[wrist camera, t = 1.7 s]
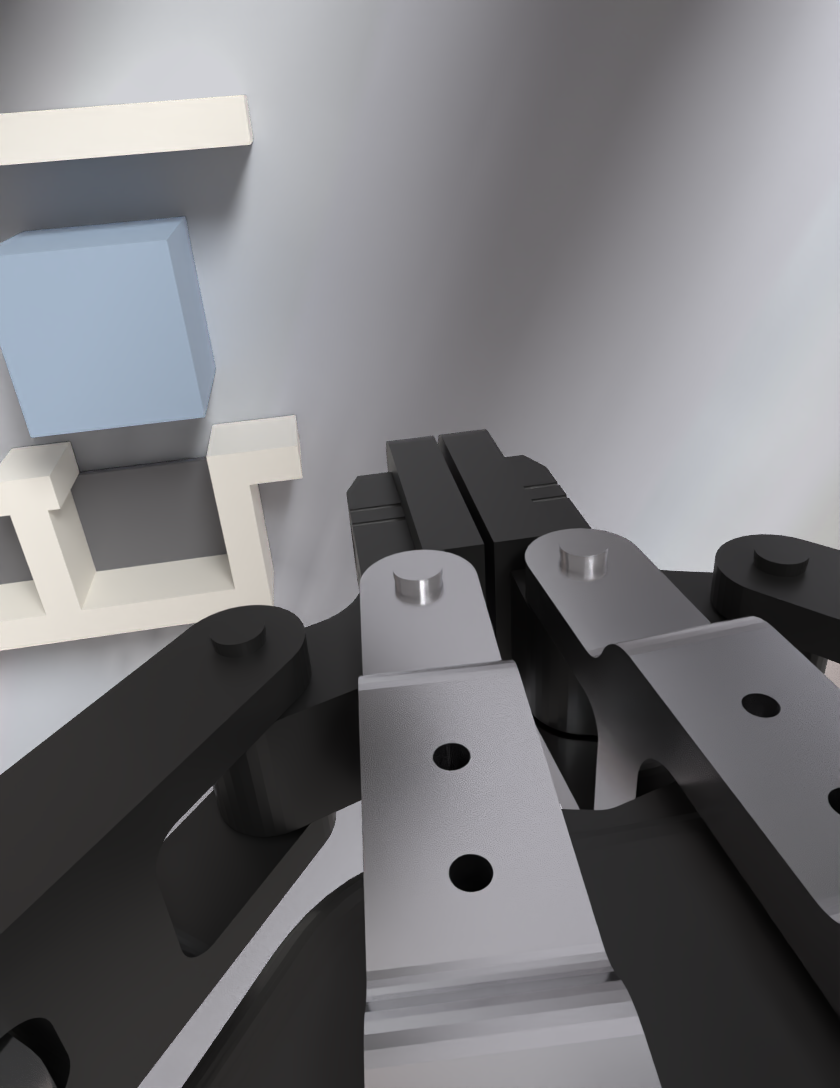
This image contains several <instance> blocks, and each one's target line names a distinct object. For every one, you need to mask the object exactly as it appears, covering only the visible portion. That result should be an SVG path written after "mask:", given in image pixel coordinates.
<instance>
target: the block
mask: <svg viewBox="0 0 840 1088" xmlns="http://www.w3.org/2000/svg"><path fill="white" fill-rule="evenodd" d="M0 347H1V350H2V353H3V356H4V359H5V362H6V365H7V368H8V371H9V374H10V377H11V380H12V383H13V385H14V388H15V391H16V394H17V397H18V400H19V403H20V406H21V409H22V412H23V415H24V418H25V421H26V424H27V427H28V430H29V433H30V436H31V438H34V437H42V436H51V435H59V434H67V433H76V432H84V431H93V430H101V429H110V428H118V427H127V426H135V425H144V424H152V423H160V422H169V421H177V420H186V419H194V418H203V417H205V415H206V410H207V406H208V402H209V397H210V393H211V388H212V384H213V380H214V375H215V371H216V366H215V361H214V356H213V351H212V346H211V341H210V337H209V332H208V327H207V322H206V317H205V312H204V307H203V302H202V297H201V292H200V287H199V282H198V277H197V272H196V267H195V262H194V257H193V252H192V247H191V242H190V237H189V232H188V227H187V222H186V217H185V216H182V217H171V218H161V219H150V220H139V221H128V222H118V223H107V224H96V225H85V226H75V227H64V228H53V229H43V230H32V231H23V232H21V233H19V234H17V235H15V236H13V237H11V238H9V239H8V240H6V241H4V242H2V243H0Z"/></svg>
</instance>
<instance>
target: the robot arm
mask: <svg viewBox="0 0 840 1088" xmlns="http://www.w3.org/2000/svg"><path fill="white" fill-rule="evenodd" d="M386 452H387V465H388V472H387V473H379V474H372V475H364V476H357V478H356V479H355V481H354V482H353V484H352V485H351V487H350V488H349V490H348V491H347V501H348V509H349V517H350V525H351V533H352V541H353V548H354V556H355V564H356V572H357V580H358V585H359V591H360V592H359V594H358V596H357V598H356V599H355V600H354V601H353V602H352V603H351V604H350V605H349V606H348V607H347V608H346V609H344V610H343V611H341V612H340V613H338V614H337V615H335V616H333V617H331V618H329V619H327V620H324V621H322V622H319V623H317V624H314V625H311V626H308V627H305V628H304V625H303V623H302V622H301V620H300V619H299V618H298V617H297V616H296V615H295V614H293V613H291V612H290V611H288V610H285V609H282V608H280V607H275V606H269V605H247V606H239V607H234V608H230V609H226V610H223V611H220V612H217V613H215V614H212V615H210V616H208V617H206V618H204V619H202V620H200V621H199V622H197V623H196V624H194V625H193V626H192V627H190V628H189V629H188V630H186V631H185V632H184V633H183V634H181V635H180V636H179V637H177V638H176V639H175V640H174V641H172V642H171V643H170V644H168V645H167V646H166V647H165V648H163V649H162V650H161V651H159V652H158V653H157V654H155V655H154V656H153V657H152V658H150V659H149V660H148V661H146V662H145V663H144V664H143V665H141V666H140V667H139V668H137V669H136V670H135V671H134V672H132V673H131V674H130V675H128V676H127V677H126V678H125V679H123V680H122V681H121V682H119V683H118V684H117V685H116V686H114V687H113V688H112V689H110V690H109V691H108V692H107V693H105V694H104V695H103V696H101V697H100V698H99V699H98V700H96V701H95V702H94V703H92V704H91V705H90V706H89V707H87V708H86V709H85V710H83V711H82V712H81V713H80V714H78V715H77V716H76V717H74V718H73V719H72V720H71V721H69V722H68V723H67V724H65V725H64V726H63V727H62V728H60V729H59V730H58V731H56V732H55V733H54V734H53V735H51V736H50V737H49V738H47V739H46V740H45V741H44V742H42V743H41V744H40V745H38V746H37V747H36V748H35V749H33V750H32V751H31V752H29V753H28V754H27V755H26V756H24V757H23V758H22V759H20V760H19V761H18V762H17V763H15V764H14V765H13V766H11V767H10V768H9V769H8V770H6V771H5V772H4V773H2V774H1V775H0V1088H137V1087H138V1086H139V1085H140V1083H141V1082H142V1081H143V1079H144V1078H145V1077H146V1076H147V1074H148V1073H149V1072H150V1070H151V1069H152V1068H153V1066H154V1065H155V1064H156V1062H157V1061H158V1060H159V1059H160V1057H161V1056H162V1055H163V1053H164V1052H165V1051H166V1049H167V1048H168V1047H169V1046H170V1044H171V1043H172V1042H173V1040H174V1039H175V1038H176V1036H177V1035H178V1034H179V1033H180V1031H181V1030H182V1029H183V1027H184V1026H185V1025H186V1023H187V1022H188V1021H189V1019H190V1018H191V1017H192V1016H193V1014H194V1013H195V1012H196V1010H197V1009H198V1008H199V1006H200V1005H201V1004H202V1003H203V1001H204V1000H205V999H206V997H207V996H208V995H209V993H210V992H211V991H212V990H213V988H214V987H215V986H216V984H217V983H218V982H219V980H220V979H221V978H222V976H223V975H224V974H225V973H226V971H227V970H228V969H229V967H230V966H231V965H232V963H233V962H234V961H235V960H236V958H237V957H238V956H239V954H240V953H241V952H242V950H243V949H244V948H245V947H246V945H247V944H248V943H249V941H250V940H251V939H252V937H253V936H254V935H255V934H256V932H257V931H258V930H259V928H260V927H261V926H262V924H263V923H264V922H265V920H266V919H267V918H268V917H269V915H270V914H271V913H272V911H273V910H274V909H275V907H276V906H277V905H278V904H279V902H280V901H281V900H282V898H283V897H284V896H285V894H286V893H287V892H288V891H289V889H290V888H291V887H292V885H293V884H294V883H295V881H296V880H297V879H298V877H299V876H300V875H301V874H302V872H303V871H304V870H305V868H306V867H307V866H308V864H309V863H310V862H311V861H312V859H313V858H314V857H315V855H316V854H317V853H318V851H319V850H320V849H321V848H322V846H323V845H324V844H325V842H326V841H327V839H328V838H329V836H330V835H331V833H332V830H333V828H334V825H335V820H336V811H338V810H341V809H343V808H345V807H347V806H349V805H351V804H354V803H356V802H358V801H360V800H362V835H363V870H364V872H362V873H360V874H359V875H357V876H355V877H353V878H351V879H350V880H348V881H347V882H345V883H344V884H343V885H341V886H340V887H338V888H337V889H336V890H334V891H333V892H331V893H330V894H329V895H327V896H326V897H325V898H324V899H323V900H322V901H321V902H319V903H318V904H317V905H316V906H315V907H314V908H313V909H312V910H311V911H309V912H308V913H307V914H306V915H305V917H304V918H303V919H302V920H301V921H300V922H299V923H298V924H297V925H296V927H295V928H294V929H293V930H292V931H291V932H290V933H289V934H288V936H287V937H286V938H285V939H284V941H283V942H282V943H281V945H280V946H279V947H278V949H277V950H276V951H275V953H274V954H273V955H272V957H271V958H270V960H269V961H268V963H267V964H266V966H265V967H264V969H263V970H262V971H261V973H260V974H259V976H258V977H257V979H256V980H255V982H254V983H253V985H252V986H251V987H250V989H249V990H248V992H247V993H246V995H245V996H244V998H243V999H242V1001H241V1002H240V1004H239V1005H238V1006H237V1008H236V1009H235V1011H234V1012H233V1014H232V1015H231V1017H230V1018H229V1020H228V1021H227V1022H226V1024H225V1025H224V1027H223V1028H222V1030H221V1031H220V1033H219V1034H218V1036H217V1037H216V1039H215V1040H214V1041H213V1043H212V1044H211V1046H210V1047H209V1049H208V1050H207V1052H206V1053H205V1055H204V1056H203V1057H202V1059H201V1060H200V1062H199V1063H198V1065H197V1066H196V1068H195V1069H194V1071H193V1072H192V1073H191V1075H190V1076H189V1078H188V1079H187V1081H186V1082H185V1084H184V1085H183V1086H182V1088H840V689H839V688H838V687H837V686H836V685H835V684H834V683H833V682H832V681H831V680H830V679H828V678H827V677H826V676H825V675H824V673H825V669H826V665H827V661H828V659H829V660H831V661H834V662H837V663H839V664H840V550H837V549H833V548H830V547H826V546H823V545H819V544H816V543H812V542H809V541H805V540H802V539H798V538H793V537H788V536H782V535H766V534H760V535H749V536H743V537H739V538H735V539H733V540H730V541H728V542H726V543H725V544H723V545H722V546H721V547H720V548H719V549H718V550H717V553H716V556H715V563H714V571H713V573H710V572H687V571H668V570H659V569H658V568H657V567H656V566H655V565H654V564H653V563H652V562H651V561H650V559H649V558H648V557H647V556H646V555H645V554H644V553H643V552H642V551H641V550H640V549H639V548H638V547H637V546H636V545H635V544H633V543H632V542H631V541H629V540H628V539H626V538H624V537H622V536H619V535H617V534H614V533H611V532H607V531H602V530H596V529H591V527H590V526H589V525H588V523H587V522H586V521H585V519H584V518H583V517H582V515H581V514H580V512H579V511H578V510H577V508H576V507H575V506H574V504H573V503H572V502H571V500H570V499H569V498H567V496H566V493H565V492H564V491H563V489H562V488H561V487H560V485H557V481H556V480H555V478H554V477H553V476H552V474H551V473H550V472H549V470H548V469H547V468H546V467H545V466H543V465H541V464H539V463H538V462H536V461H534V460H532V459H530V458H528V457H526V456H524V455H520V456H512V457H504V456H503V454H502V453H501V451H500V450H499V448H498V447H497V445H496V443H495V442H494V440H493V439H492V437H491V436H490V434H489V432H488V431H487V430H486V429H484V430H476V431H467V432H459V433H451V434H443V435H439V438H438V444H437V442H436V440H435V438H434V436H428V437H420V438H412V439H404V440H395V441H387V443H386ZM212 786H213V789H214V790H213V791H212V792H211V793H210V794H209V795H208V796H207V797H206V798H205V799H204V800H203V801H202V802H201V803H200V805H199V806H198V807H197V808H196V809H195V810H194V811H193V812H192V813H191V814H190V815H189V816H188V817H187V818H186V819H185V820H184V821H183V822H182V823H181V824H180V825H179V826H178V827H177V828H176V829H175V830H174V831H173V832H172V833H171V834H170V835H169V836H168V837H167V838H166V839H165V837H166V836H167V834H168V832H169V831H170V830H171V828H172V827H173V826H174V825H175V823H176V822H177V821H178V820H179V819H180V818H181V817H182V816H183V815H184V814H185V813H186V812H187V811H188V810H189V809H190V808H191V807H192V806H193V805H194V804H195V803H196V802H197V801H198V800H199V799H200V798H201V797H202V796H203V795H204V794H205V793H206V792H207V791H208V790H209V789H210V788H211V787H212ZM560 805H561V807H562V809H561V807H560ZM164 839H165V840H164ZM163 841H164V842H163Z"/></svg>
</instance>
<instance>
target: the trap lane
mask: <svg viewBox="0 0 840 1088" xmlns="http://www.w3.org/2000/svg"><path fill="white" fill-rule="evenodd" d="M252 142H253V133H252V127H251V120H250V114H249V107H248V101H247V96H246V95H237V96H224V97H211V98H198V99H185V100H172V101H159V102H146V103H133V104H120V105H107V106H94V107H80V108H67V109H54V110H41V111H28V112H15V113H2V114H0V165H11V164H23V163H35V162H47V161H59V160H71V159H83V158H95V157H107V156H120V155H132V154H144V153H156V152H168V151H180V150H192V149H204V148H216V147H228V146H240V145H251V143H252ZM301 478H302V464H301V449H300V441H299V434H298V427H297V421H296V415H290V416H282V417H274V418H265V419H257V420H248V421H240V422H231V423H223V424H214V425H212V430H211V435H210V440H209V445H208V450H207V455H206V457H201V458H193V459H184V460H176V461H168V462H160V463H152V464H143V465H135V466H127V467H119V468H111V469H103V470H94V471H86V472H79V469H78V465H77V462H76V459H75V456H74V452H73V449H72V446H71V443H70V442H62V443H54V444H45V445H37V446H28V447H20V448H12V449H11V450H10V452H9V453H8V454H7V455H6V457H5V458H4V459H3V461H2V462H1V463H0V651H2V650H9V649H16V648H23V647H30V646H37V645H44V644H51V643H58V642H65V641H72V640H79V639H86V638H93V637H100V636H107V635H114V634H121V633H128V632H135V631H142V630H149V629H156V628H163V627H170V626H177V625H184V624H191V623H197V622H199V621H200V620H202V619H204V618H206V617H208V616H210V615H212V614H215V613H217V612H220V611H223V610H226V609H230V608H234V607H239V606H247V605H269V606H274V569H273V563H272V558H271V552H270V547H269V542H268V536H267V531H266V526H265V520H264V515H263V509H262V504H261V499H260V493H259V488H258V484H261V483H269V482H277V481H285V480H293V479H301Z"/></svg>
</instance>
